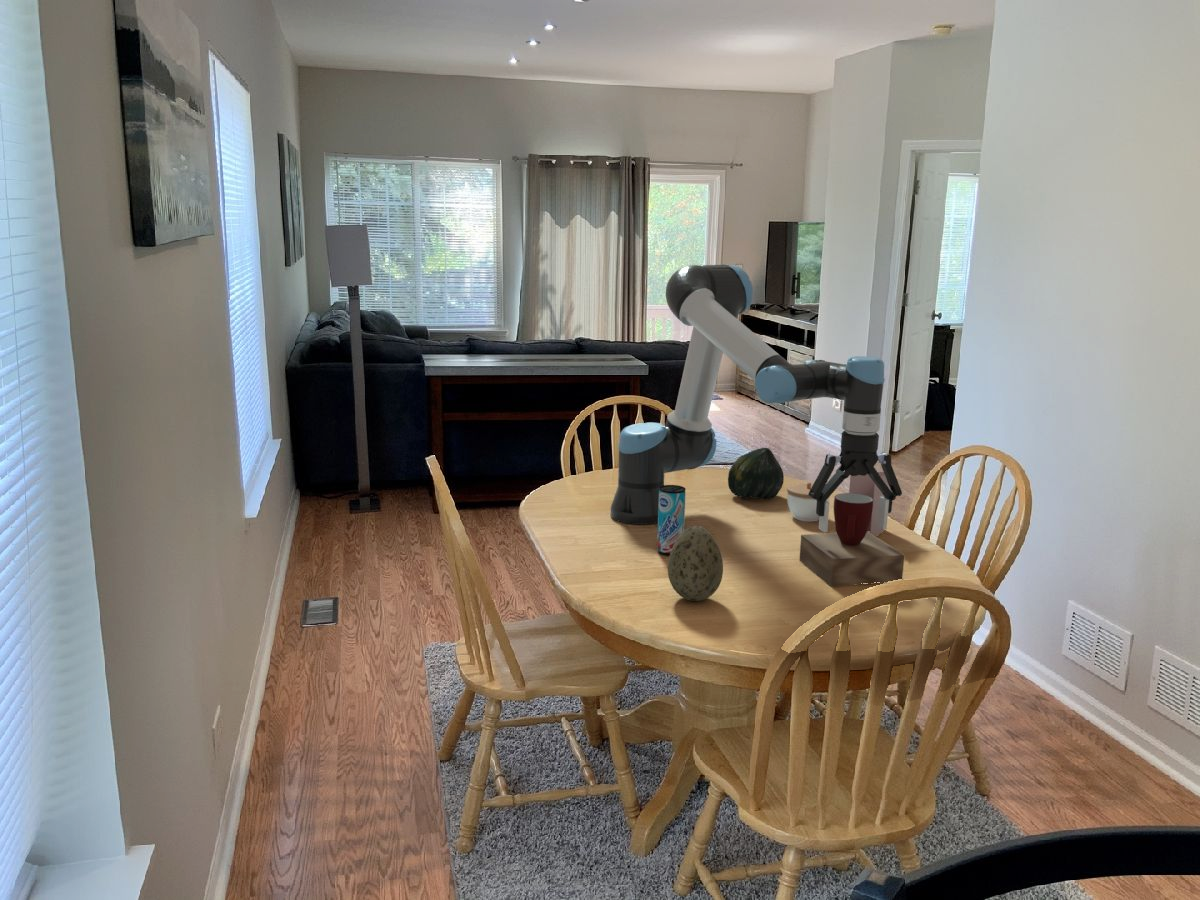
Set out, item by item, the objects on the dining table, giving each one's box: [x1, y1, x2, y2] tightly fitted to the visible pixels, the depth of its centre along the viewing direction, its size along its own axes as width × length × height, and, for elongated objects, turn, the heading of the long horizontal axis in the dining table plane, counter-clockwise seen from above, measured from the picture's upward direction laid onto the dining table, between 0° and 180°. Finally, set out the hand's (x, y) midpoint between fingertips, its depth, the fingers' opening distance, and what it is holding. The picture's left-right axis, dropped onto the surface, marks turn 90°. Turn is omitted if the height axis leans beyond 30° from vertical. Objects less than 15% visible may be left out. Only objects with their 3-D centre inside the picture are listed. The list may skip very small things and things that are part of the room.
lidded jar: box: [786, 481, 830, 523], centre depth 237 cm, size 11×11×9 cm
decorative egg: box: [667, 525, 724, 602], centre depth 182 cm, size 11×11×15 cm
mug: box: [833, 492, 873, 545], centre depth 198 cm, size 11×8×10 cm
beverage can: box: [656, 484, 686, 556], centre depth 209 cm, size 6×6×15 cm
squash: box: [727, 447, 785, 500], centre depth 256 cm, size 14×15×15 cm
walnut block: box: [798, 531, 905, 588], centre depth 200 cm, size 16×16×6 cm
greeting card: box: [848, 471, 890, 537], centre depth 224 cm, size 11×7×15 cm, turn 111°
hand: (852, 529), depth 199 cm, fingers open, 13 cm apart
